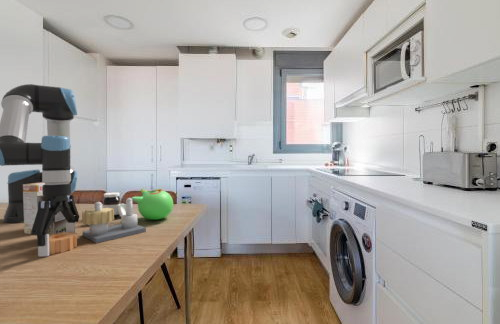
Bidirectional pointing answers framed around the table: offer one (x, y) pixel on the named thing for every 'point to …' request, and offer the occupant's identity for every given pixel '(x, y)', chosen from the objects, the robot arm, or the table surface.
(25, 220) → the coffeecake box
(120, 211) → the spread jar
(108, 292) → the table surface
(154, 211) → the green teapot
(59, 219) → the coffee box
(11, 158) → the robot arm
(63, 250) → the orange gear
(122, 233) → the gear board
